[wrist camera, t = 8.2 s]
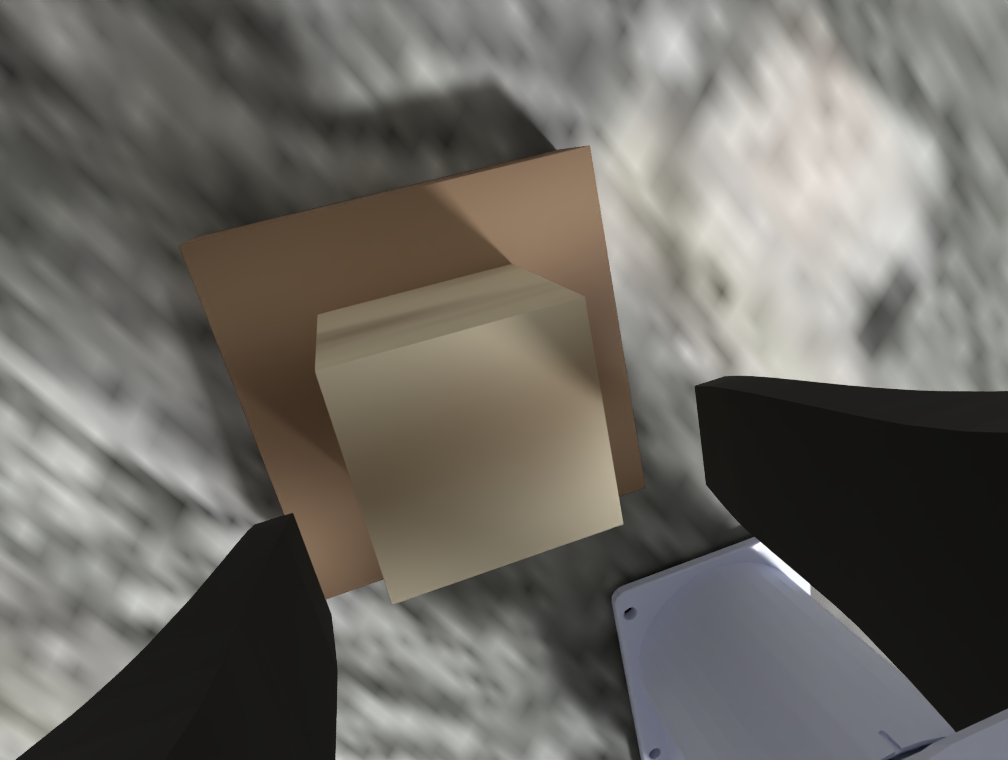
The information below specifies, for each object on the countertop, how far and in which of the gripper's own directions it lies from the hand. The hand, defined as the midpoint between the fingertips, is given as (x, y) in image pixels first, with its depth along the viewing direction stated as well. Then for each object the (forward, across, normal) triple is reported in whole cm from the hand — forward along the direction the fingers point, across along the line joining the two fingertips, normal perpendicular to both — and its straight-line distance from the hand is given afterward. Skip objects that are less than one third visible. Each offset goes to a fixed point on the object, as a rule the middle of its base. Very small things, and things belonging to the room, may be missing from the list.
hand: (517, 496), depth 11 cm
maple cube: (+6, 0, 0) cm, 7 cm away
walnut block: (+10, 0, 0) cm, 10 cm away
